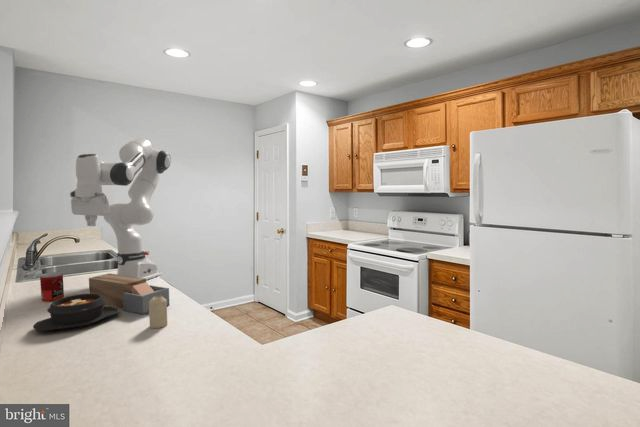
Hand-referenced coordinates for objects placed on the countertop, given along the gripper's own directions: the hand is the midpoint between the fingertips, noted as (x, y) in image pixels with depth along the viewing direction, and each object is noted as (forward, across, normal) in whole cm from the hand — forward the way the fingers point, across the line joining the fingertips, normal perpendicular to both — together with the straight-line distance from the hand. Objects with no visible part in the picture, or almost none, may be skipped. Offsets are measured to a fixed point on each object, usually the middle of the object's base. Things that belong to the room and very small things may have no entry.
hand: (91, 226), depth 154 cm
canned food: (+31, +16, +8) cm, 36 cm away
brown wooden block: (+31, -13, -1) cm, 34 cm away
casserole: (+32, -22, +20) cm, 43 cm away
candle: (+31, -50, +10) cm, 60 cm away
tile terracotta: (+26, -28, -1) cm, 38 cm away
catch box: (+31, -30, -1) cm, 44 cm away
